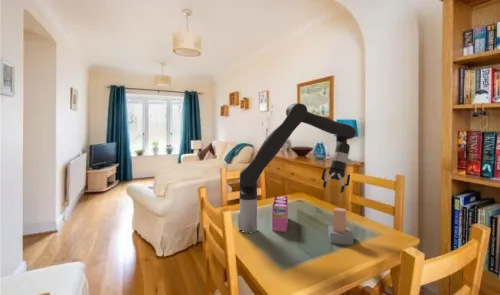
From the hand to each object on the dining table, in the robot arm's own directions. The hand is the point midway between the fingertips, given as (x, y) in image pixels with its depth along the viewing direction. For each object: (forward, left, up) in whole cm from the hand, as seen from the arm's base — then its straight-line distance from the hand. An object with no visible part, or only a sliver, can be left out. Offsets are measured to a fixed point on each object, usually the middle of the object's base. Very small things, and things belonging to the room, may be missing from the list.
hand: (332, 190), depth 132 cm
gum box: (-28, -4, -21) cm, 35 cm away
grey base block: (+5, -13, -21) cm, 25 cm away
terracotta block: (+5, -13, -16) cm, 21 cm away
